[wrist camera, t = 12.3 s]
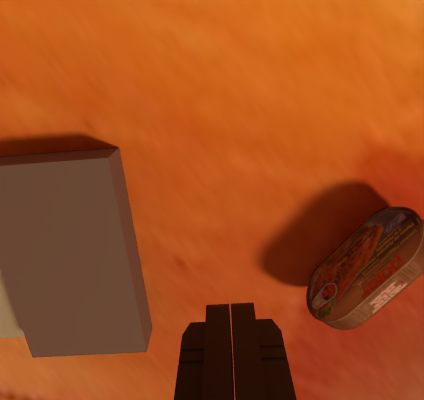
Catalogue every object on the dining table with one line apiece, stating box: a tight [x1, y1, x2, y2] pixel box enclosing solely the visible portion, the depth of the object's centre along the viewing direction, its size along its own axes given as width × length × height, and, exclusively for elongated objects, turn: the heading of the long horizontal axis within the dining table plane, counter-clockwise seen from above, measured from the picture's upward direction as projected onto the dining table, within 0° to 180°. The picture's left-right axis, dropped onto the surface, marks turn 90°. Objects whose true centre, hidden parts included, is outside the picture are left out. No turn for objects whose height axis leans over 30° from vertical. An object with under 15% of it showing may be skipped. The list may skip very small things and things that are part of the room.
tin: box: [306, 207, 424, 330], centre depth 37 cm, size 15×3×8 cm, turn 142°
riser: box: [0, 148, 152, 357], centre depth 40 cm, size 24×14×4 cm, turn 5°
